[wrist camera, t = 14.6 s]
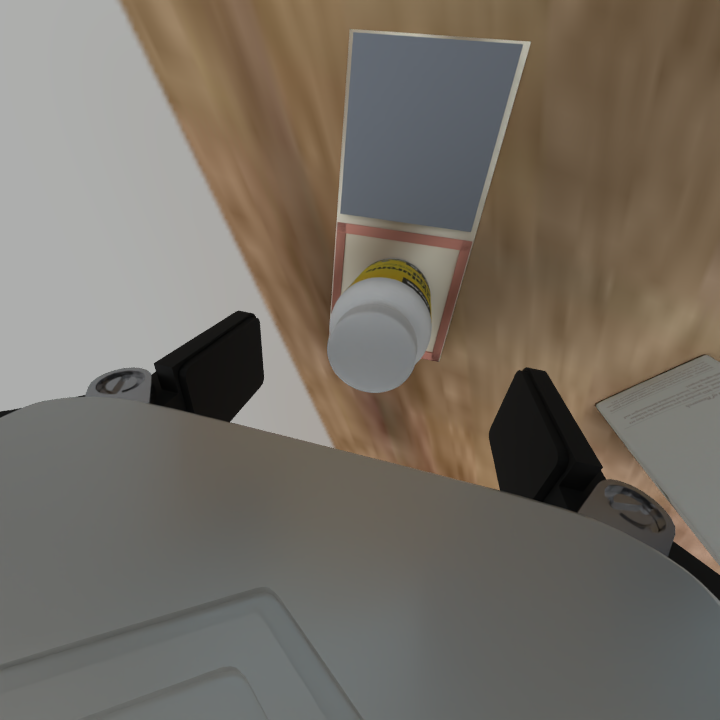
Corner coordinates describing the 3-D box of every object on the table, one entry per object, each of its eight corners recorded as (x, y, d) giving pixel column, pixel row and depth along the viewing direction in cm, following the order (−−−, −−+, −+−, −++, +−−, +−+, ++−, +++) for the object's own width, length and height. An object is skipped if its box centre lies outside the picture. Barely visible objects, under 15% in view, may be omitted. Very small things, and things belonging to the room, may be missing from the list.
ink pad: (516, 54, 15) (523, 44, 14) (468, 230, 19) (471, 232, 18) (358, 43, 15) (353, 32, 14) (344, 212, 19) (340, 213, 18)
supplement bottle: (445, 277, 20) (460, 334, 12) (407, 341, 23) (396, 424, 14) (374, 241, 20) (336, 273, 11) (344, 310, 23) (296, 376, 14)
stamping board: (526, 48, 15) (532, 39, 14) (438, 357, 24) (439, 362, 23) (353, 36, 16) (349, 27, 15) (331, 336, 25) (327, 341, 24)
